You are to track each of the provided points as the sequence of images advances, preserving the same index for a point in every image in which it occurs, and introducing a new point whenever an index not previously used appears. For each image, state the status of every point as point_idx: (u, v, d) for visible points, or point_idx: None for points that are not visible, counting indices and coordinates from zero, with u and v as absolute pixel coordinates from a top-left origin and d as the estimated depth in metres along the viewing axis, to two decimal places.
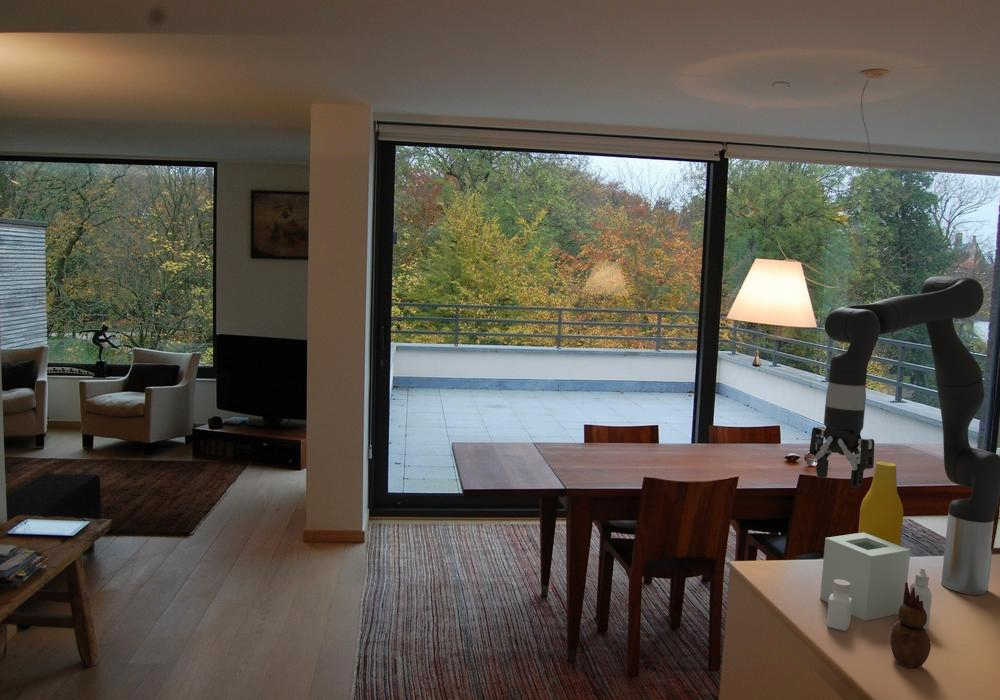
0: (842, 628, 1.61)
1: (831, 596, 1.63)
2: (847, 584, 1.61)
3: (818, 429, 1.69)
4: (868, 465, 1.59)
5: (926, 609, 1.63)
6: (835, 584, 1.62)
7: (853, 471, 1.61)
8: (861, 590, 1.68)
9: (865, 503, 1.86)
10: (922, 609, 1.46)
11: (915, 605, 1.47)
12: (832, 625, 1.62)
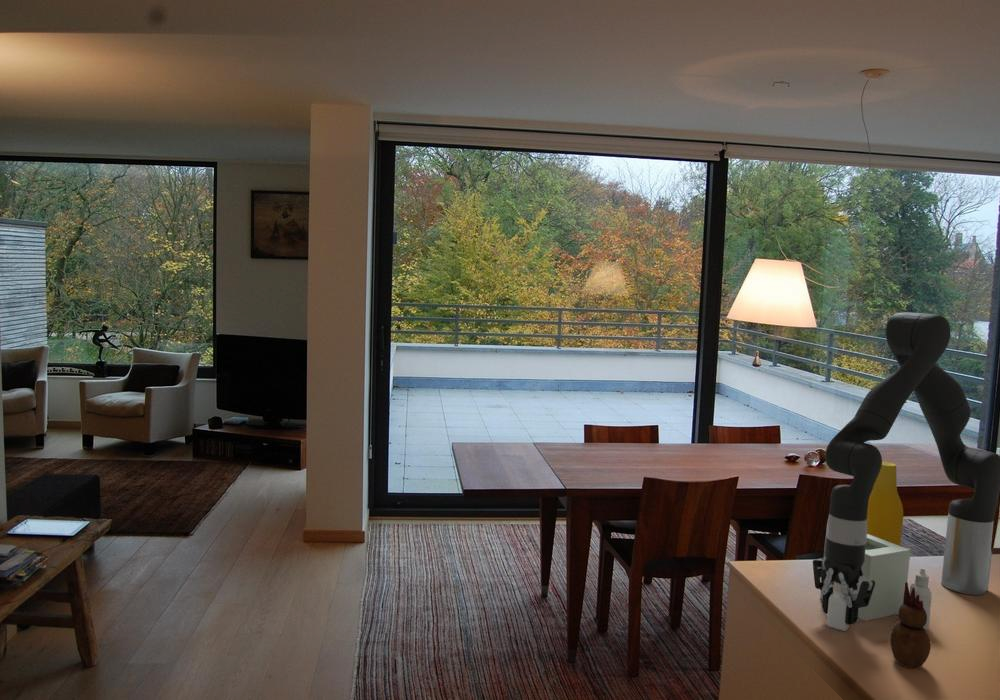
0: (842, 628, 1.61)
1: (831, 596, 1.63)
2: None
3: (818, 561, 1.67)
4: (863, 605, 1.58)
5: (926, 609, 1.63)
6: (835, 584, 1.62)
7: (848, 608, 1.60)
8: None
9: None
10: (922, 609, 1.46)
11: (915, 605, 1.47)
12: (832, 625, 1.62)
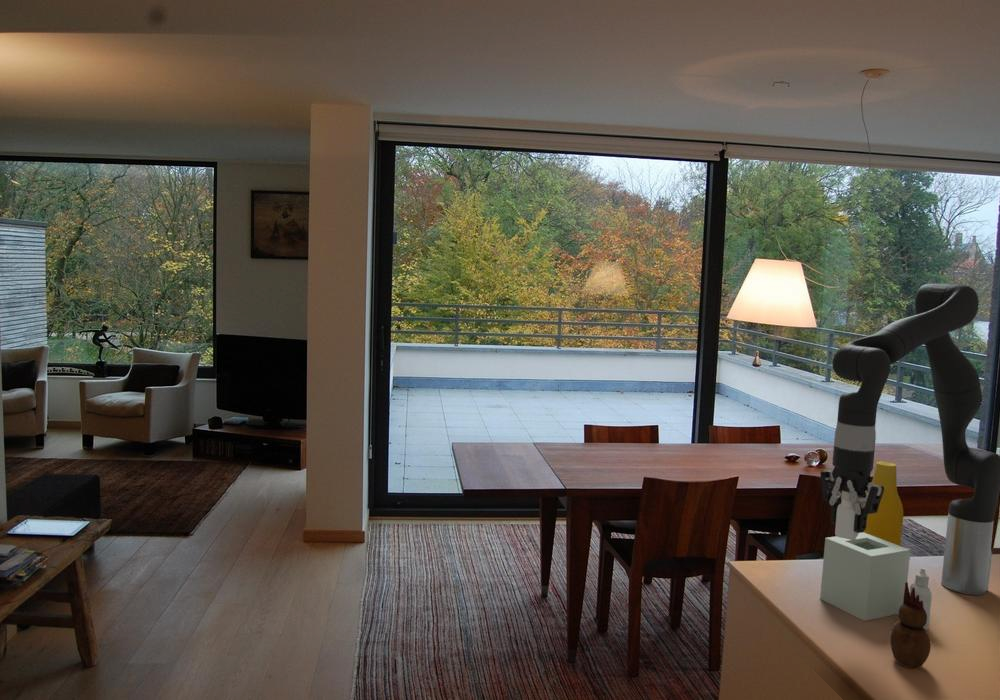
0: (851, 537, 1.59)
1: (839, 505, 1.61)
2: None
3: (826, 472, 1.65)
4: (872, 511, 1.56)
5: (926, 609, 1.63)
6: (843, 493, 1.60)
7: (856, 516, 1.58)
8: (861, 590, 1.68)
9: None
10: (922, 609, 1.46)
11: (915, 605, 1.47)
12: (840, 534, 1.60)
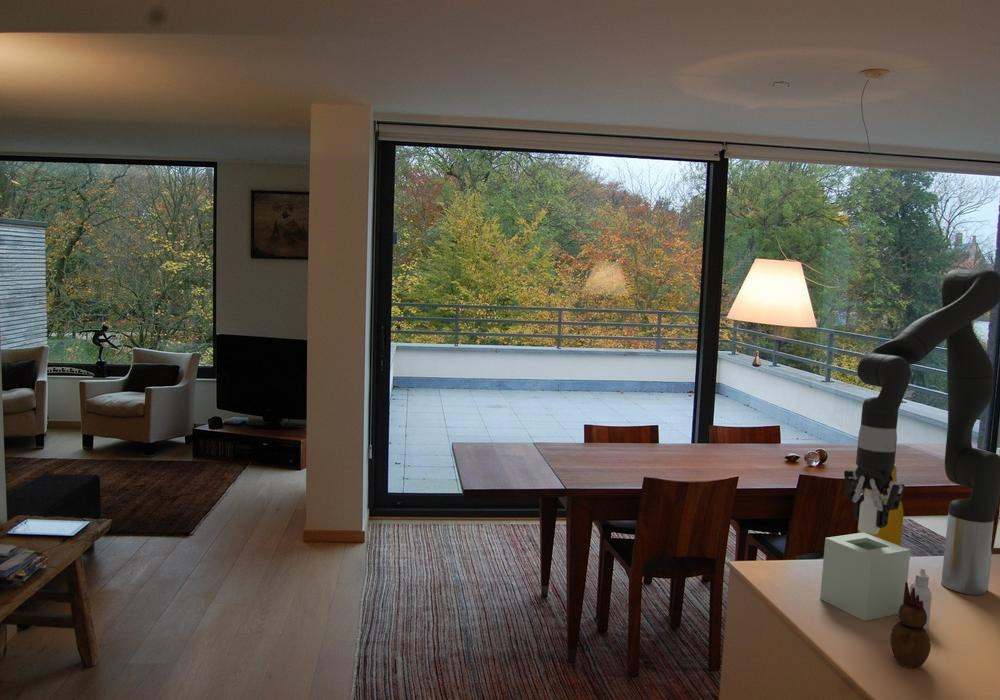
0: (873, 531, 1.71)
1: (862, 502, 1.73)
2: None
3: (849, 471, 1.77)
4: (893, 507, 1.67)
5: (926, 609, 1.63)
6: (866, 490, 1.72)
7: (879, 512, 1.70)
8: (861, 590, 1.68)
9: None
10: (922, 609, 1.46)
11: (915, 605, 1.47)
12: (863, 529, 1.72)
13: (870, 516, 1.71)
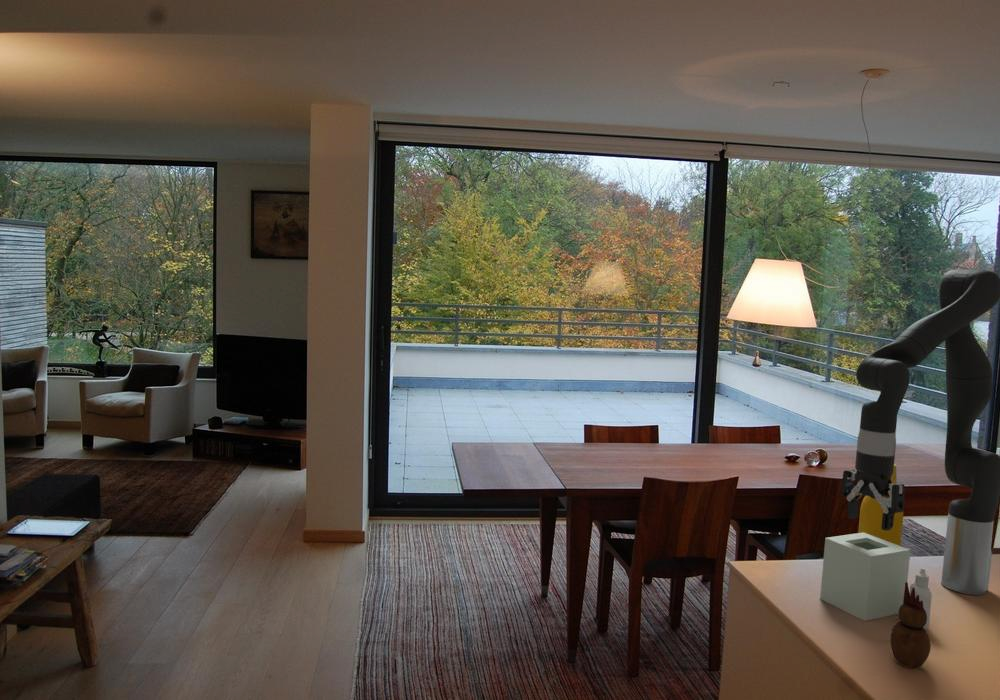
0: None
1: None
2: None
3: (849, 472, 1.77)
4: (899, 509, 1.66)
5: (926, 609, 1.63)
6: None
7: (884, 514, 1.68)
8: (861, 590, 1.68)
9: (865, 503, 1.86)
10: (922, 609, 1.46)
11: (915, 605, 1.47)
12: None
13: None
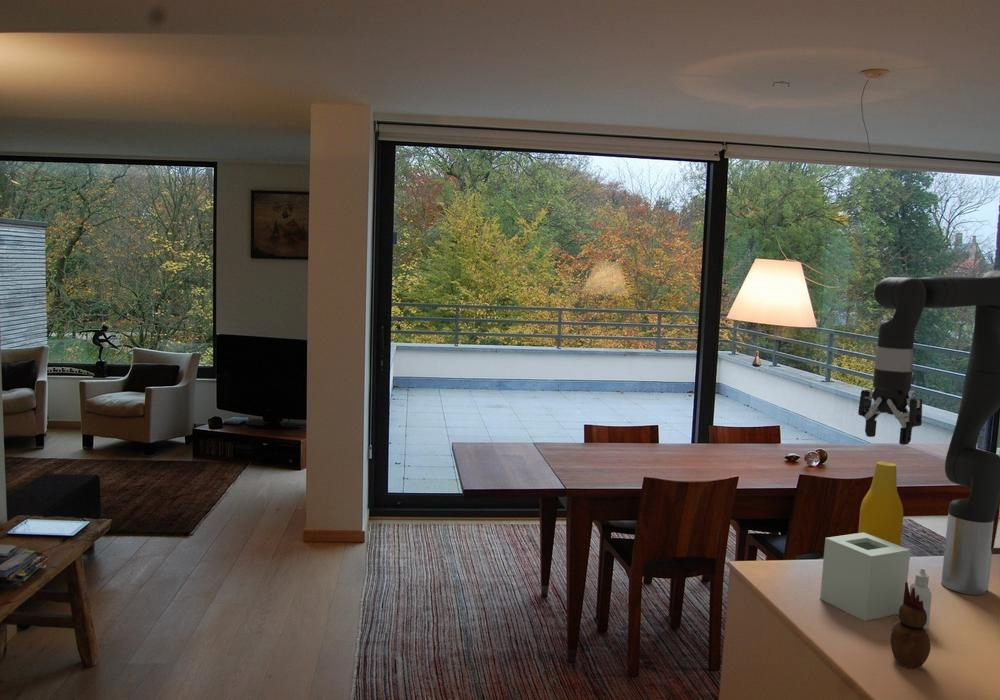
0: None
1: None
2: None
3: (867, 391, 1.81)
4: (916, 423, 1.70)
5: (926, 609, 1.63)
6: None
7: (902, 429, 1.72)
8: (861, 590, 1.68)
9: (865, 503, 1.86)
10: (922, 609, 1.46)
11: (915, 605, 1.47)
12: None
13: None
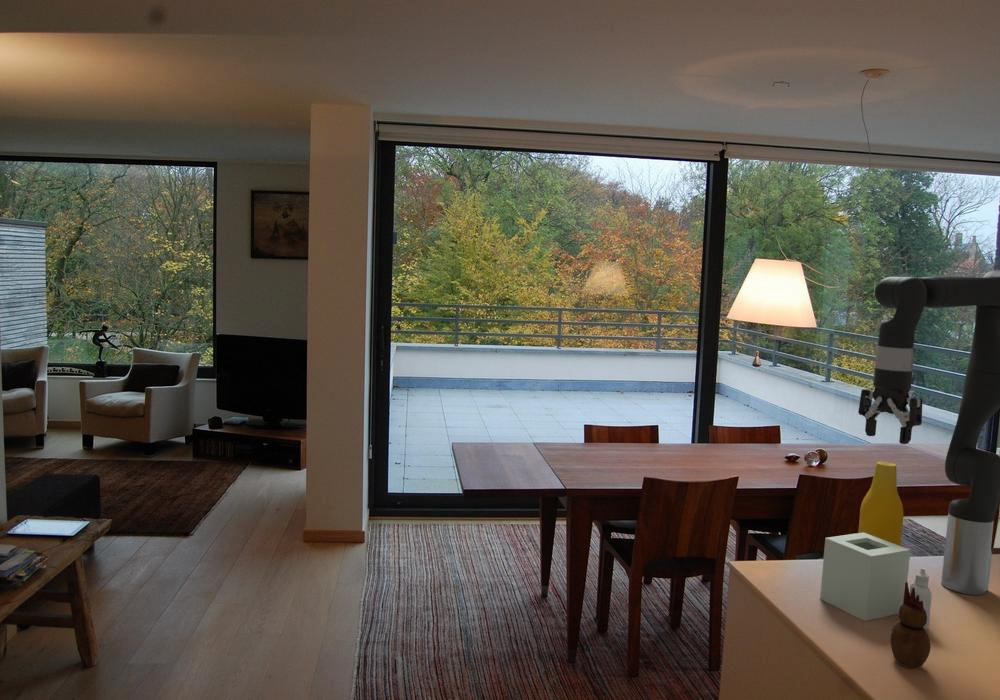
0: None
1: None
2: None
3: (867, 391, 1.81)
4: (917, 422, 1.70)
5: (926, 609, 1.63)
6: None
7: (902, 428, 1.72)
8: (861, 590, 1.68)
9: (865, 503, 1.86)
10: (922, 609, 1.46)
11: (915, 605, 1.47)
12: None
13: None
